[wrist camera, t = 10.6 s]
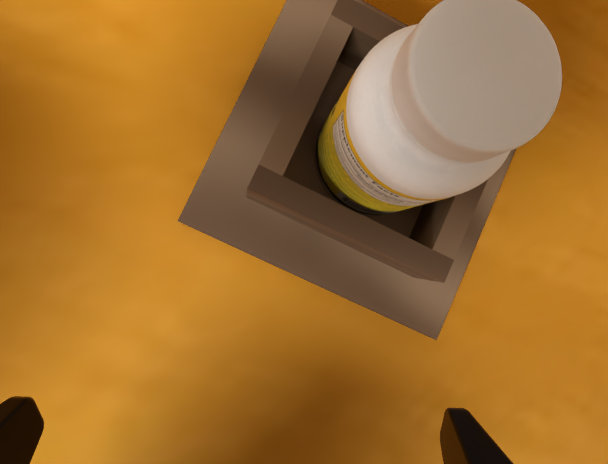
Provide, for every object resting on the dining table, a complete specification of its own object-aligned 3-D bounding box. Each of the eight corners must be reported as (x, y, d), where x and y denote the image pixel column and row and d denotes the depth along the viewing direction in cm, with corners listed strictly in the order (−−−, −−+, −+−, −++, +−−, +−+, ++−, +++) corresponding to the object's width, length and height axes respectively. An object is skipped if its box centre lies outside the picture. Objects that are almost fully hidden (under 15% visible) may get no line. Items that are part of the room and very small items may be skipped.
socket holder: (428, 336, 21) (470, 356, 17) (180, 222, 19) (165, 215, 16) (526, 103, 22) (585, 73, 18) (300, -22, 21) (314, -83, 17)
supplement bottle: (396, 84, 20) (540, -69, 10) (442, 189, 20) (626, 133, 11) (292, 126, 19) (344, 2, 10) (341, 235, 19) (439, 220, 10)
